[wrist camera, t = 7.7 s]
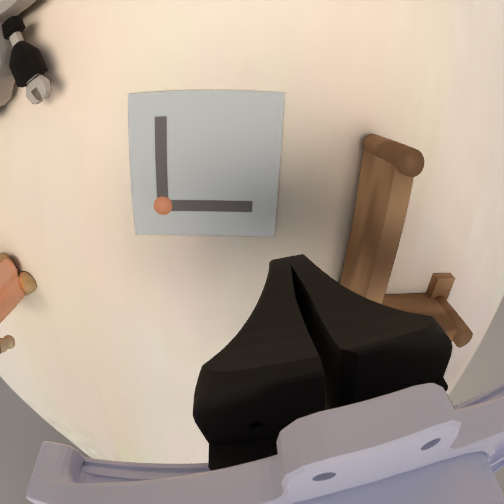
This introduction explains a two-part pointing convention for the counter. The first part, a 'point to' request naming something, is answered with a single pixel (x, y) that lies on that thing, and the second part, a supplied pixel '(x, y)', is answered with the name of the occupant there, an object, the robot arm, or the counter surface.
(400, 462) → the robot arm
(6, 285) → the grandmother figurine
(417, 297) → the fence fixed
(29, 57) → the robot toy
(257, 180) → the card
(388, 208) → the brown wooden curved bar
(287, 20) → the counter surface
